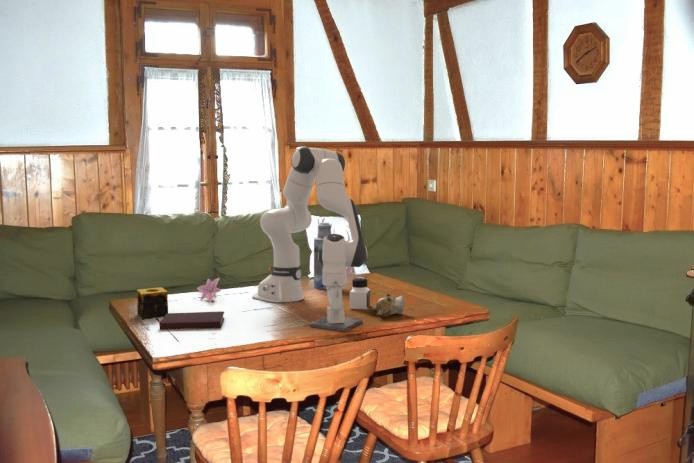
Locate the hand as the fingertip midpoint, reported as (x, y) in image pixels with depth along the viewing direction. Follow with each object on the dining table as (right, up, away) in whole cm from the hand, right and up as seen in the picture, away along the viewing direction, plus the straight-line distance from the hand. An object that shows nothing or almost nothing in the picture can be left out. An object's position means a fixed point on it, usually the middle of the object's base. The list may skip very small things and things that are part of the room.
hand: (334, 316), depth 253 cm
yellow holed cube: (-71, -2, +16) cm, 73 cm away
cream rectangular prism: (0, -2, 0) cm, 2 cm away
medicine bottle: (+10, 0, +27) cm, 29 cm away
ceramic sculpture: (+20, -2, +14) cm, 25 cm away
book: (-52, -4, +2) cm, 52 cm away
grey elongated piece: (-6, +5, +68) cm, 68 cm away
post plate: (+1, -3, +1) cm, 3 cm away
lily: (-54, +2, +43) cm, 69 cm away
